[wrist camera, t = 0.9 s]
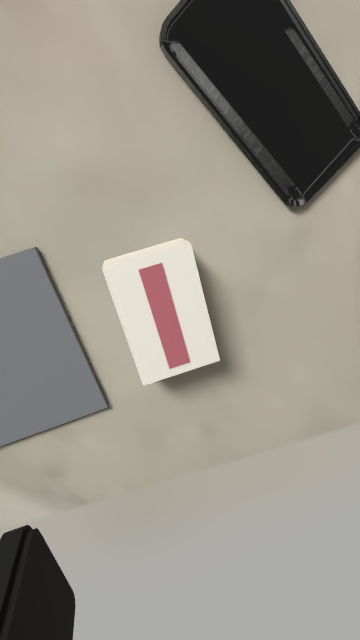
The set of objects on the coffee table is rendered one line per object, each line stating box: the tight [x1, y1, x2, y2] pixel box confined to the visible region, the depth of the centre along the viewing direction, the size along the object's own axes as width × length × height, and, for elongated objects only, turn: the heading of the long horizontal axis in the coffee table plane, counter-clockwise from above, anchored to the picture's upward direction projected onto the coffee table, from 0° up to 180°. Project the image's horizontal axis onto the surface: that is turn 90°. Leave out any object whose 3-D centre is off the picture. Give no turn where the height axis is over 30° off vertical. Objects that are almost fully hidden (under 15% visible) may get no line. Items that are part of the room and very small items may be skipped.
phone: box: [159, 0, 360, 206], centre depth 23 cm, size 8×1×15 cm
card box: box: [102, 238, 220, 386], centre depth 25 cm, size 6×9×4 cm, turn 16°
